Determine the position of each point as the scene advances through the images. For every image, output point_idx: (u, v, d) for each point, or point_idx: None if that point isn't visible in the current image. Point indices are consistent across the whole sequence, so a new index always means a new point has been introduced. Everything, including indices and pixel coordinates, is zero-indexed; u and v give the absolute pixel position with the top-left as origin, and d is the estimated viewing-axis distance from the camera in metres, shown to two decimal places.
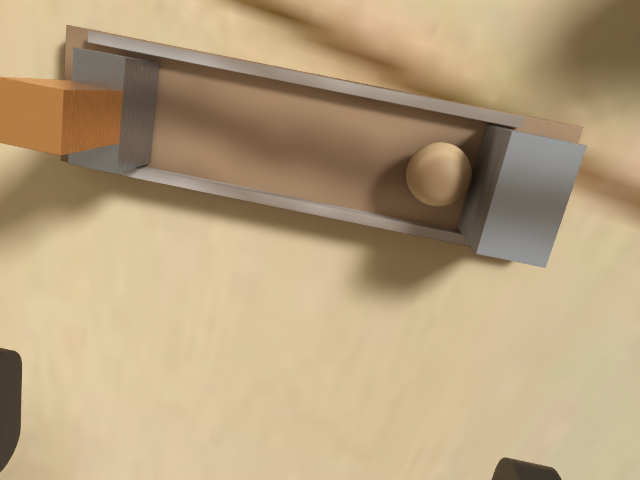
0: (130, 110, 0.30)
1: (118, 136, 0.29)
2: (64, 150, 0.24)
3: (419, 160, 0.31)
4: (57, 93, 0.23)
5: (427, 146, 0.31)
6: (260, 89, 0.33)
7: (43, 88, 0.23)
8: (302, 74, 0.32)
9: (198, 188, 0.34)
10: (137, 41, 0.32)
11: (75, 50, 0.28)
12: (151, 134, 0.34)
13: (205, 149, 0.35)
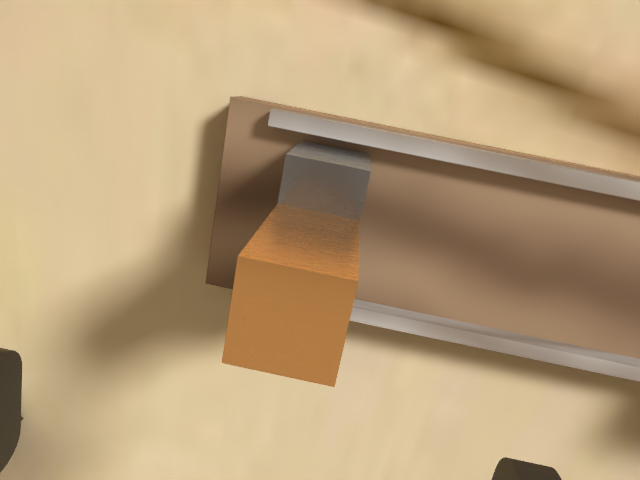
0: None
1: None
2: None
3: None
4: (345, 286, 0.12)
5: None
6: (515, 192, 0.23)
7: (320, 277, 0.12)
8: (596, 176, 0.21)
9: (412, 330, 0.24)
10: (344, 125, 0.21)
11: (289, 159, 0.18)
12: None
13: (420, 272, 0.24)
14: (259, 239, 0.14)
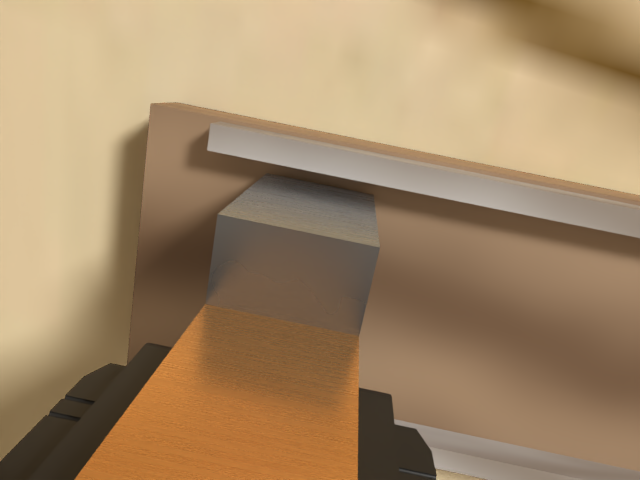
0: None
1: None
2: None
3: None
4: None
5: None
6: (604, 254, 0.14)
7: None
8: None
9: (439, 464, 0.15)
10: (332, 150, 0.13)
11: (223, 224, 0.09)
12: None
13: (451, 373, 0.16)
14: (105, 468, 0.06)
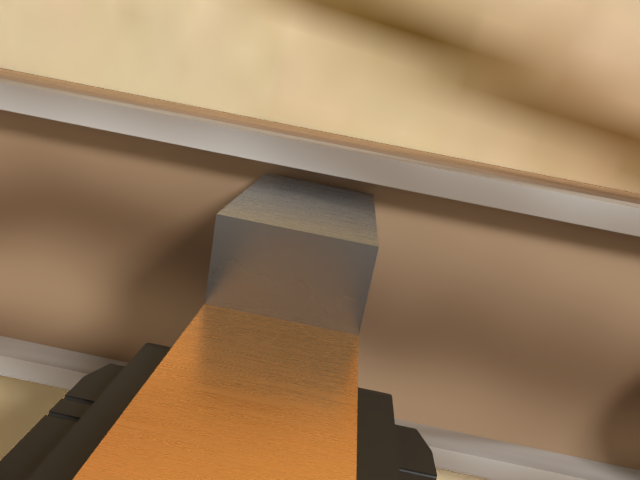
0: None
1: None
2: None
3: None
4: None
5: None
6: None
7: None
8: (478, 180, 0.13)
9: None
10: (72, 99, 0.13)
11: (222, 223, 0.09)
12: None
13: None
14: (103, 468, 0.06)
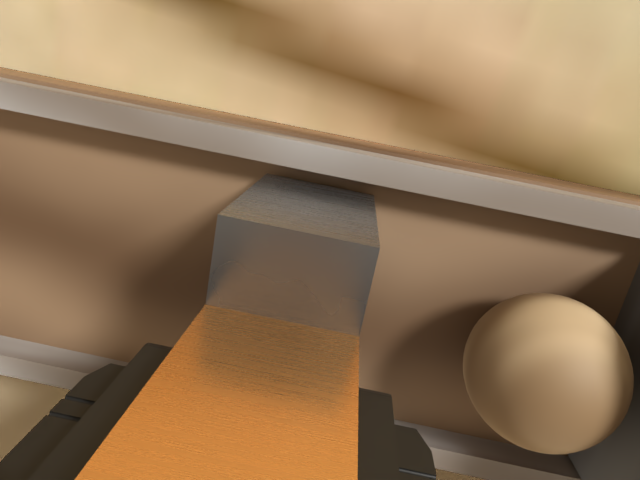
0: None
1: None
2: None
3: (506, 353, 0.12)
4: None
5: (521, 312, 0.12)
6: (124, 156, 0.14)
7: None
8: (212, 127, 0.13)
9: None
10: None
11: (223, 224, 0.09)
12: None
13: (16, 281, 0.16)
14: (105, 469, 0.06)
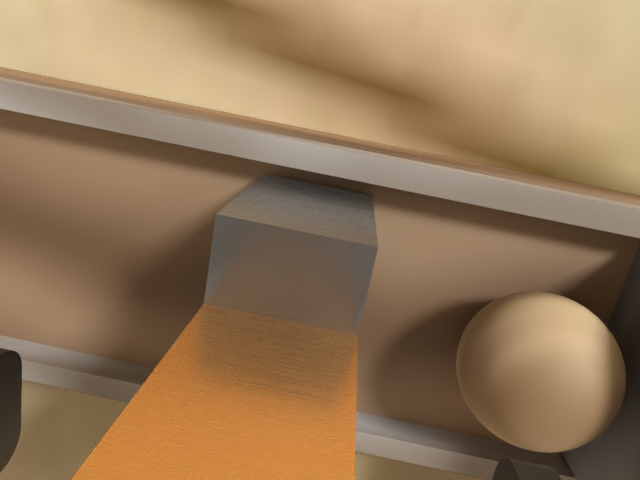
0: None
1: None
2: None
3: (498, 352, 0.12)
4: None
5: (514, 310, 0.12)
6: (118, 155, 0.14)
7: None
8: (205, 126, 0.13)
9: None
10: None
11: (222, 223, 0.09)
12: None
13: (11, 280, 0.16)
14: (102, 467, 0.06)
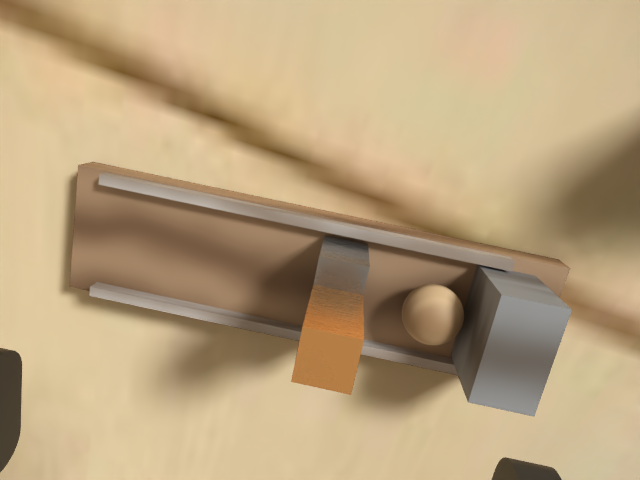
0: None
1: None
2: (351, 387, 0.25)
3: (414, 305, 0.32)
4: (356, 342, 0.24)
5: (421, 290, 0.33)
6: (262, 227, 0.35)
7: (344, 337, 0.24)
8: (303, 218, 0.33)
9: (202, 317, 0.36)
10: (146, 185, 0.34)
11: (321, 259, 0.30)
12: None
13: (209, 279, 0.36)
14: (310, 314, 0.26)
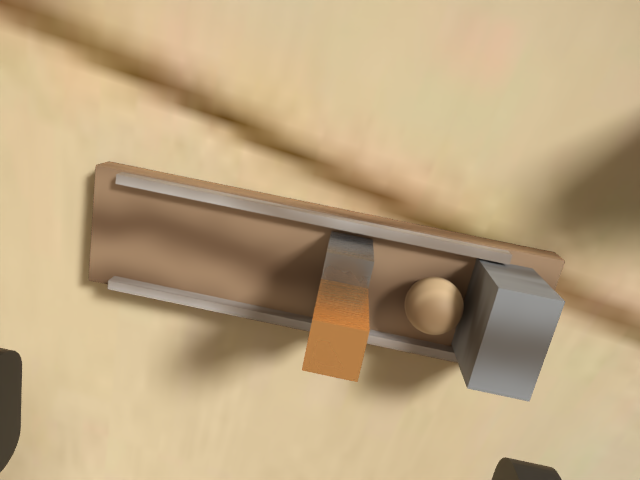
0: None
1: None
2: None
3: (416, 297, 0.34)
4: (363, 333, 0.26)
5: (423, 283, 0.34)
6: (272, 223, 0.37)
7: (351, 329, 0.26)
8: (310, 215, 0.35)
9: (215, 309, 0.38)
10: (160, 184, 0.35)
11: (328, 254, 0.31)
12: None
13: (221, 273, 0.38)
14: (318, 307, 0.28)
